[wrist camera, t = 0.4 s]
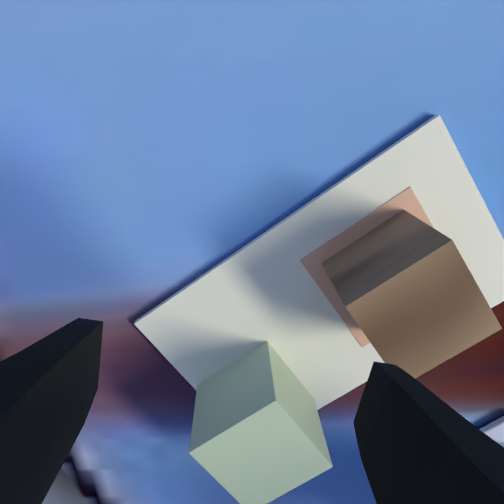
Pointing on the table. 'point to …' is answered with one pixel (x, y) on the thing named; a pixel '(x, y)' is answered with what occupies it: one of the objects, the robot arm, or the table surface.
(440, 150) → the build mat
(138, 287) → the table surface
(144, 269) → the table surface
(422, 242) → the walnut block
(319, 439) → the sage block
